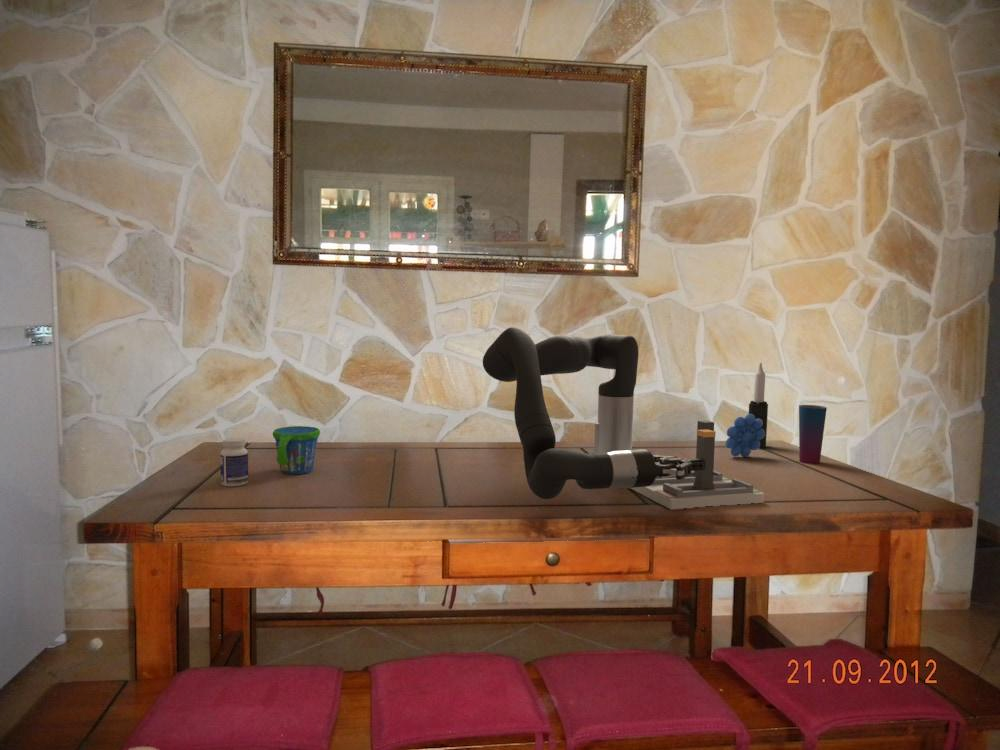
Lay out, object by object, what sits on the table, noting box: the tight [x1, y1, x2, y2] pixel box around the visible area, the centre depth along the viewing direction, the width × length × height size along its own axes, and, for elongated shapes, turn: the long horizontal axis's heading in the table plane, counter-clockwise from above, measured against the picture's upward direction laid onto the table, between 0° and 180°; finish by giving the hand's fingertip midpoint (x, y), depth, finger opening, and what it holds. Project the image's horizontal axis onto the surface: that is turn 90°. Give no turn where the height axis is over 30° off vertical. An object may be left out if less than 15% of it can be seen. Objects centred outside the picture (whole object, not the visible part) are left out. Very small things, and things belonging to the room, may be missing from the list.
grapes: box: [724, 413, 765, 458], centre depth 200 cm, size 12×7×12 cm, turn 102°
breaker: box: [693, 429, 716, 490], centre depth 151 cm, size 3×3×13 cm
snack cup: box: [272, 425, 321, 475], centre depth 172 cm, size 16×10×10 cm
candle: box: [748, 362, 769, 449], centre depth 215 cm, size 5×5×25 cm
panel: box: [629, 420, 765, 510], centre depth 157 cm, size 22×19×15 cm
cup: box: [798, 404, 828, 464], centre depth 194 cm, size 7×7×15 cm
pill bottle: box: [219, 437, 249, 487], centre depth 159 cm, size 6×6×10 cm
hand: (703, 464), depth 149 cm, fingers closed
